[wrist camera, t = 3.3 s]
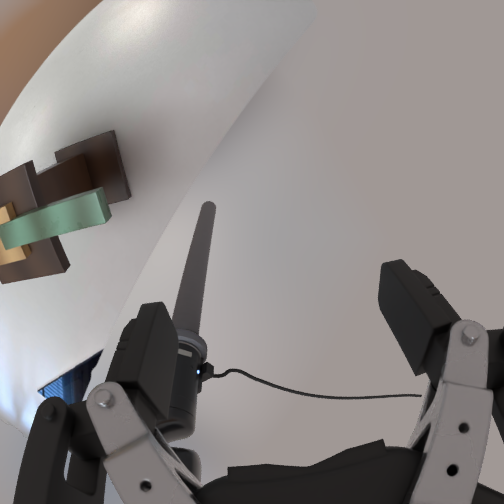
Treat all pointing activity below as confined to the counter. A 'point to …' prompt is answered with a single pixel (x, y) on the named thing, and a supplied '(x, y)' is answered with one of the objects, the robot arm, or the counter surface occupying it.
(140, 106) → the counter surface
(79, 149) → the brown pedestal stand
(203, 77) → the counter surface
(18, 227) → the spatula
